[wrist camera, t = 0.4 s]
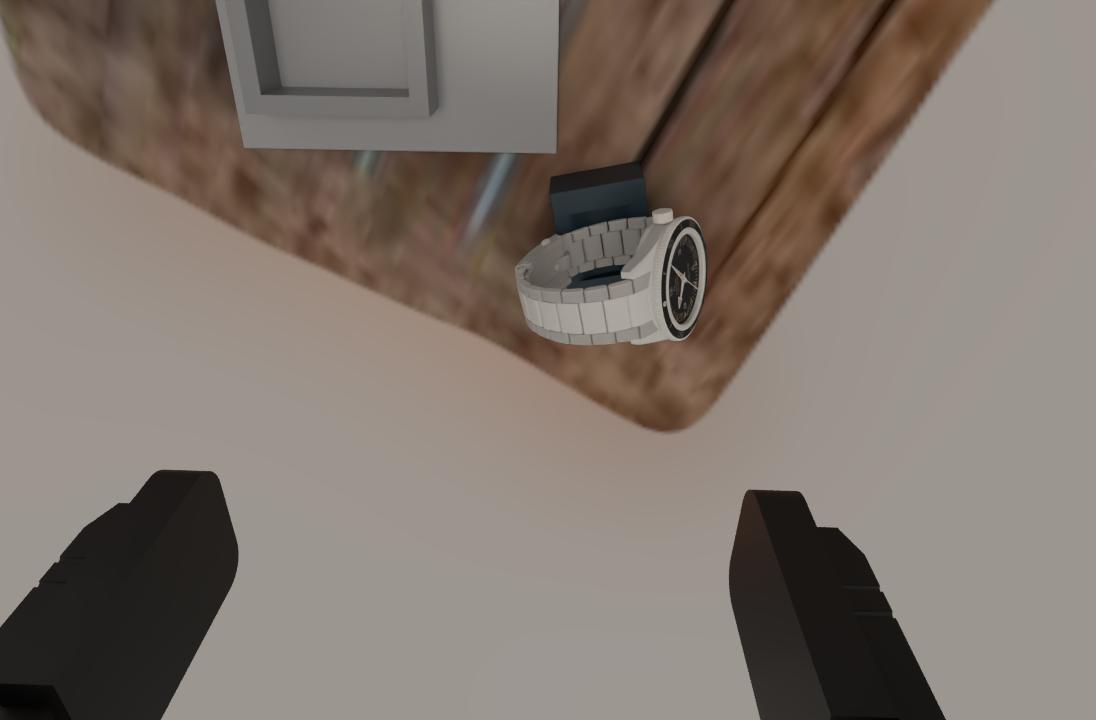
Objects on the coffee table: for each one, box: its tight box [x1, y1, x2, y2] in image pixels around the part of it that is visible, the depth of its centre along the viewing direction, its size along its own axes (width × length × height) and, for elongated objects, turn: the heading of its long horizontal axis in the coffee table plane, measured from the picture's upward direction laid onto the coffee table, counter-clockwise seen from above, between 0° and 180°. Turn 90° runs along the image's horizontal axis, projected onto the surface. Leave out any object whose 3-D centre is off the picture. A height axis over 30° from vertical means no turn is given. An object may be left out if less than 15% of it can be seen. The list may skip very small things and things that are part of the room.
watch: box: [515, 161, 707, 345], centre depth 31 cm, size 6×8×11 cm
